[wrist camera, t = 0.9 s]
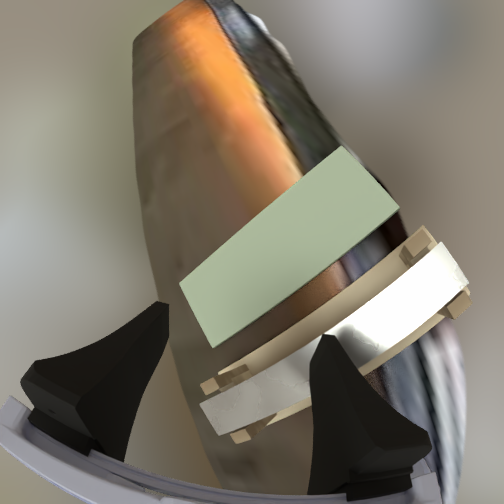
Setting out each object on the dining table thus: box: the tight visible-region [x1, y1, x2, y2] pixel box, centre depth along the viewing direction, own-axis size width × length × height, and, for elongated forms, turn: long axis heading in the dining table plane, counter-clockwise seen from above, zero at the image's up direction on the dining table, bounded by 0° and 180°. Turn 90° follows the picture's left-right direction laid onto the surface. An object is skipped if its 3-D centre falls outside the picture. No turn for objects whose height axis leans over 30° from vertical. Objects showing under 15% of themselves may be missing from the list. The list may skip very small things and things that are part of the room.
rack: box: [200, 225, 472, 444], centre depth 19 cm, size 7×23×6 cm, turn 125°
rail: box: [200, 242, 468, 435], centre depth 17 cm, size 20×3×3 cm, turn 125°
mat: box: [179, 146, 400, 348], centre depth 25 cm, size 8×22×1 cm, turn 125°
